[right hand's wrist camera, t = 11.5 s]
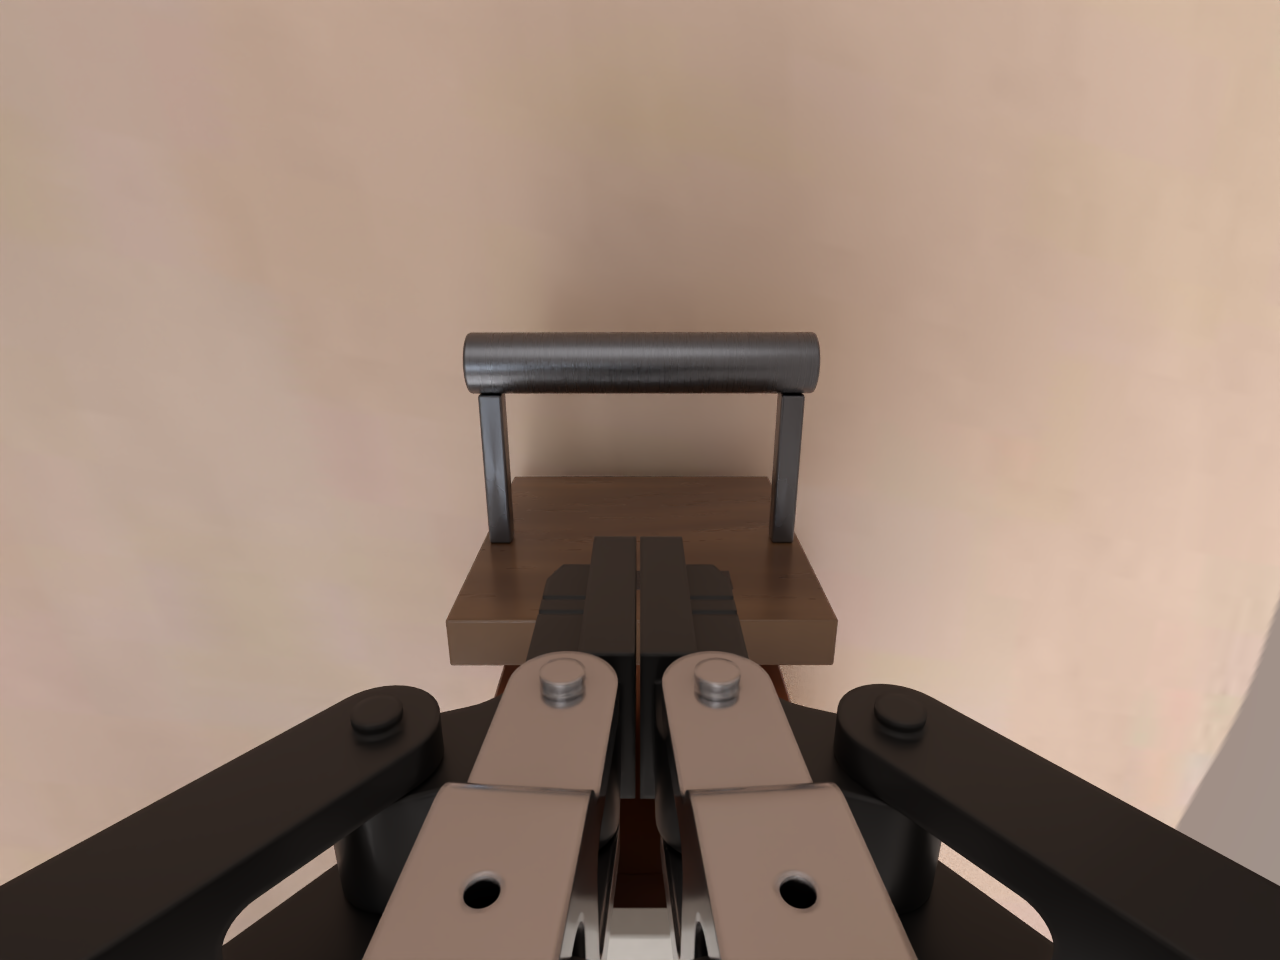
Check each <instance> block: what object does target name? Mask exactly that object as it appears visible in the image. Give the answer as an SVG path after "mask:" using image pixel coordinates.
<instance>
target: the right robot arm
mask: <svg viewBox="0 0 1280 960" xmlns="http://www.w3.org/2000/svg"><path fill="white" fill-rule="evenodd" d="M636 633H637V616H636V536H594V541H593V548H592V556H591V563H590V564H563V565H562V566H560V567H559V568H558V569H557V570H556V571H555V572H554V573H553V574H552V575H551V576H550V577H548V578H547V580H546V584H545V588H544V592H543V596H542V600H541V604H540V608H539V614H538V615H537V619H536V623H535V627H534V631H533V635H532V639H531V643H530V647H529V651H528V655H527V658H526V662H525V663H523V664H522V665H521V666H519V667H518V668H517V669H516V670H515V671H514V672H513V673H512V675H511V677H510V678H509V680H508V683H507V685H506V688H505V690H504V692H503V693H502V694H500V695H499V696H497V697H495V698H493V699H491V700H488V701H486V702H483V703H480V704H477V705H473V706H470V707H465V708H461V709H456V710H451V711H447V712H442V713H440V708H439V705H438V703H437V701H436V700H435V698H434V697H433V696H432V695H430V694H429V693H428V692H426V691H424V690H422V689H418V688H415V687H410V686H399V685H394V686H383V687H377V688H373V689H369V690H365V691H362V692H360V693H357V694H354V695H352V696H350V697H348V698H346V699H344V700H342V701H341V702H339V703H337V704H335V705H333V706H331V707H329V708H328V709H326V710H324V711H322V712H320V713H318V714H317V715H315V716H313V717H311V718H309V719H307V720H305V721H304V722H302V723H300V724H298V725H296V726H294V727H293V728H291V729H289V730H287V731H285V732H283V733H282V734H280V735H278V736H276V737H274V738H272V739H270V740H269V741H267V742H265V743H263V744H261V745H259V746H258V747H256V748H254V749H252V750H250V751H248V752H247V753H245V754H243V755H241V756H239V757H237V758H235V759H234V760H232V761H230V762H228V763H226V764H224V765H223V766H221V767H219V768H217V769H215V770H213V771H211V772H210V773H208V774H206V775H204V776H202V777H200V778H199V779H197V780H195V781H193V782H191V783H189V784H188V785H186V786H184V787H182V788H180V789H178V790H176V791H175V792H173V793H171V794H169V795H167V796H165V797H164V798H162V799H160V800H158V801H156V802H154V803H153V804H151V805H149V806H147V807H145V808H143V809H141V810H140V811H138V812H136V813H134V814H132V815H130V816H129V817H127V818H125V819H123V820H121V821H119V822H117V823H116V824H114V825H112V826H110V827H108V828H106V829H105V830H103V831H101V832H99V833H97V834H95V835H94V836H92V837H90V838H88V839H86V840H84V841H82V842H81V843H79V844H77V845H75V846H73V847H71V848H70V849H68V850H66V851H64V852H62V853H60V854H59V855H57V856H55V857H53V858H51V859H49V860H47V861H46V862H44V863H42V864H40V865H38V866H36V867H35V868H33V869H31V870H29V871H27V872H25V873H23V874H22V875H20V876H18V877H16V878H14V879H12V880H11V881H9V882H7V883H5V884H3V885H1V886H0V960H607V953H608V945H609V937H610V928H611V920H612V912H613V904H614V896H615V887H616V879H617V871H618V863H619V854H620V799H635V767H636ZM640 799H655V818H656V825H657V828H658V831H659V833H660V854H661V863H662V871H663V879H664V887H665V896H666V904H667V912H668V920H669V928H670V937H671V945H672V953H673V960H1280V886H1279V885H1277V884H1275V883H1273V882H1271V881H1269V880H1268V879H1266V878H1264V877H1262V876H1260V875H1258V874H1256V873H1255V872H1253V871H1251V870H1249V869H1247V868H1245V867H1244V866H1242V865H1240V864H1238V863H1236V862H1234V861H1233V860H1231V859H1229V858H1227V857H1225V856H1223V855H1221V854H1220V853H1218V852H1216V851H1214V850H1212V849H1210V848H1209V847H1207V846H1205V845H1203V844H1201V843H1199V842H1197V841H1196V840H1194V839H1192V838H1190V837H1188V836H1186V835H1185V834H1183V833H1181V832H1179V831H1177V830H1175V829H1174V828H1172V827H1170V826H1168V825H1166V824H1164V823H1162V822H1161V821H1159V820H1157V819H1155V818H1153V817H1151V816H1150V815H1148V814H1146V813H1144V812H1142V811H1140V810H1139V809H1137V808H1135V807H1133V806H1131V805H1129V804H1127V803H1126V802H1124V801H1122V800H1120V799H1118V798H1116V797H1115V796H1113V795H1111V794H1109V793H1107V792H1105V791H1103V790H1102V789H1100V788H1098V787H1096V786H1094V785H1092V784H1091V783H1089V782H1087V781H1085V780H1083V779H1081V778H1080V777H1078V776H1076V775H1074V774H1072V773H1070V772H1068V771H1067V770H1065V769H1063V768H1061V767H1059V766H1057V765H1056V764H1054V763H1052V762H1050V761H1048V760H1046V759H1045V758H1043V757H1041V756H1039V755H1037V754H1035V753H1033V752H1032V751H1030V750H1028V749H1026V748H1024V747H1022V746H1021V745H1019V744H1017V743H1015V742H1013V741H1011V740H1010V739H1008V738H1006V737H1004V736H1002V735H1000V734H998V733H997V732H995V731H993V730H991V729H989V728H987V727H986V726H984V725H982V724H980V723H978V722H976V721H974V720H973V719H971V718H969V717H967V716H965V715H963V714H962V713H960V712H958V711H956V710H954V709H952V708H951V707H949V706H947V705H945V704H943V703H941V702H939V701H938V700H936V699H934V698H932V697H930V696H928V695H926V694H924V693H922V692H919V691H916V690H913V689H910V688H906V687H903V686H897V685H890V684H871V685H864V686H861V687H857V688H855V689H853V690H851V691H849V692H848V693H846V694H845V695H844V696H843V697H842V699H841V700H840V702H839V705H838V710H837V714H836V713H831V712H827V711H822V710H818V709H813V708H808V707H804V706H801V705H797V704H794V703H791V702H788V701H786V700H784V699H782V698H780V697H778V695H777V693H776V690H775V688H774V685H773V683H772V680H771V678H770V677H769V675H768V673H767V672H766V671H765V670H764V669H763V668H762V667H761V666H759V665H758V664H757V663H755V662H753V661H752V660H750V659H749V657H748V653H747V649H746V645H745V641H744V637H743V633H742V629H741V625H740V621H739V617H738V614H737V608H736V604H735V600H734V596H733V592H732V588H731V584H730V580H729V578H728V577H727V576H725V575H724V574H723V573H722V572H721V571H720V570H719V569H718V568H717V567H716V566H715V565H714V564H686V562H685V555H684V547H683V540H682V536H640ZM941 841H942V842H943V843H945V844H946V845H947V846H949V847H950V848H952V849H953V850H955V851H956V852H957V853H959V854H960V855H962V856H963V857H965V858H966V859H967V860H969V861H970V862H972V863H973V864H975V865H976V866H978V867H979V868H980V869H982V870H983V871H985V872H986V873H988V874H989V875H990V876H992V877H993V878H995V879H996V880H998V881H999V882H1000V883H1002V884H1003V885H1005V886H1006V887H1008V888H1009V889H1011V890H1012V891H1013V892H1015V893H1016V894H1018V895H1019V896H1021V897H1022V898H1023V899H1024V900H1026V901H1027V902H1028V903H1029V904H1030V905H1031V906H1032V907H1033V908H1034V909H1035V910H1036V911H1037V912H1038V913H1039V914H1040V916H1041V917H1042V919H1043V920H1044V921H1045V923H1046V925H1047V927H1048V928H1049V931H1050V933H1051V935H1052V939H1053V942H1051V941H1050V940H1048V939H1047V938H1046V937H1044V936H1043V935H1041V934H1040V933H1039V932H1037V931H1036V930H1034V929H1033V928H1032V927H1030V926H1029V925H1028V924H1026V923H1025V922H1023V921H1022V920H1021V919H1019V918H1018V917H1016V916H1015V915H1014V914H1012V913H1011V912H1009V911H1008V910H1007V909H1005V908H1004V907H1003V906H1001V905H1000V904H998V903H997V902H996V901H994V900H993V899H991V898H990V897H989V896H987V895H986V894H984V893H983V892H982V891H980V890H979V889H978V888H976V887H975V886H973V885H972V884H971V883H969V882H968V881H966V880H965V879H964V878H962V877H961V876H960V875H958V874H957V873H955V872H954V871H953V870H951V869H950V868H948V867H947V866H946V865H944V864H943V863H941V862H940V861H939V860H938V857H939V851H940V846H941ZM333 845H334V849H335V854H336V859H337V864H336V865H334V866H333V867H332V868H330V869H329V870H327V871H326V872H325V873H323V874H322V875H320V876H319V877H318V878H316V879H315V880H314V881H312V882H311V883H309V884H308V885H307V886H305V887H304V888H302V889H301V890H300V891H298V892H297V893H295V894H294V895H293V896H291V897H290V898H289V899H287V900H286V901H284V902H283V903H282V904H280V905H279V906H277V907H276V908H275V909H273V910H272V911H271V912H269V913H268V914H266V915H265V916H264V917H262V918H261V919H259V920H258V921H257V922H255V923H254V924H252V925H251V926H250V927H248V928H247V929H246V930H244V931H243V932H241V933H240V934H239V935H237V936H236V937H234V938H233V939H232V940H230V941H229V942H227V943H226V944H225V945H223V941H224V938H225V935H226V933H227V931H228V929H229V927H230V926H231V924H232V923H233V921H234V920H235V918H236V917H237V916H238V915H239V914H240V913H241V911H242V910H243V909H244V908H245V907H247V906H248V905H249V904H250V903H251V902H253V901H254V900H255V899H257V898H258V897H259V896H261V895H262V894H264V893H265V892H267V891H268V890H269V889H271V888H272V887H274V886H275V885H277V884H278V883H279V882H281V881H282V880H284V879H285V878H287V877H288V876H290V875H291V874H292V873H294V872H295V871H297V870H298V869H300V868H301V867H302V866H304V865H305V864H307V863H308V862H310V861H311V860H312V859H314V858H315V857H317V856H318V855H320V854H321V853H323V852H324V851H325V850H327V849H328V848H330V847H331V846H333ZM222 945H223V946H222Z"/></svg>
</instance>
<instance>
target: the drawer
mask: <svg viewBox="0 0 1280 960" xmlns="http://www.w3.org/2000/svg"><path fill="white" fill-rule="evenodd" d="M463 370H464V378H465V382H466V385H467V388H468V390H469V392H471V393H473V394H474V393H481V394H480V395H479V397H478V402H479V414H480V426H481V439H482V451H483V463H484V476H485V488H486V500H487V513H488V525H489V532H488V534H487V536H486V538H485V540H484V542H483V545H482V547H481V549H480V551H479V553H478V555H477V557H476V559H475V561H474V563H473V565H472V567H471V570H470V572H469V574H468V576H467V578H466V580H465V582H464V584H463V586H462V588H461V590H460V592H459V595H458V597H457V599H456V601H455V603H454V605H453V607H452V609H451V611H450V613H449V615H448V617H447V620H446V627H447V637H448V646H449V655H450V663H451V665H504V667H503V671H502V674H501V677H500V680H499V684H498V687H497V690H496V694H495V697H497V696H499V695H500V694H502V693H503V692H504V690H505V688H506V685H507V683H508V680H509V678H510V677H511V675H512V673H513V672H514V671H515V670H516V669H517V668H518V667H519V666H521V665H522V664H523V663H525V662H526V658H527V655H528V651H529V647H530V643H531V639H532V635H533V631H534V627H535V623H536V619H537V615H538V614H539V608H540V604H541V600H542V596H543V592H544V588H545V584H546V580H547V578H548V577H550V576H551V575H552V574H553V573H554V572H555V571H556V570H557V569H558V568H559V567H560V566H562V565H563V564H590V563H591V556H592V548H593V541H594V536H636V616H637V633H636V767H635V799H620V854H619V863H618V871H617V879H616V887H615V896H614V904H613V908H667V904H666V896H665V887H664V879H663V871H662V863H661V854H660V833H659V831H658V828H657V825H656V818H655V799H640V536H682V540H683V547H684V555H685V562H686V564H714V565H715V566H716V567H717V568H718V569H719V570H720V571H721V572H722V573H723V574H724V575H725V576H727V577H728V578H729V580H730V584H731V588H732V592H733V596H734V600H735V604H736V608H737V614H738V617H739V621H740V625H741V629H742V633H743V637H744V641H745V645H746V649H747V653H748V657H749V659H750V660H752V661H753V662H755V663H757V664H758V665H759V666H761V667H762V668H763V669H764V670H765V671H766V672H767V673H768V675H769V677H770V678H771V680H772V683H773V685H774V688H775V690H776V693H777V695H778V697H780V698H782V699H784V700H786V701H788V702H791V701H790V698H789V695H788V692H787V689H786V685H785V682H784V679H783V676H782V672H781V669H780V666H779V665H832V664H833V661H834V652H835V643H836V634H837V625H838V620H837V618H836V616H835V614H834V612H833V610H832V608H831V605H830V603H829V601H828V599H827V597H826V595H825V593H824V591H823V589H822V587H821V585H820V583H819V581H818V579H817V577H816V575H815V573H814V571H813V569H812V567H811V565H810V563H809V561H808V559H807V556H806V554H805V552H804V550H803V548H802V546H801V544H800V542H799V540H798V538H797V536H796V534H795V532H794V525H795V512H796V500H797V487H798V475H799V463H800V450H801V438H802V425H803V413H804V401H805V397H804V395H803V394H802V393H812V392H813V391H814V390H815V388H816V385H817V382H818V377H819V371H820V347H819V342H818V338H817V336H816V334H815V333H812V332H606V333H469V334H467V336H466V338H465V342H464V348H463ZM505 393H778V400H777V415H776V430H775V445H774V459H773V474H772V485H771V483H770V481H769V479H768V477H515V478H514V480H513V482H512V484H511V475H510V460H509V445H508V431H507V416H506V401H505ZM495 697H494V698H495Z"/></svg>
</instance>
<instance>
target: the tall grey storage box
mask: <svg viewBox="0 0 1280 960" xmlns="http://www.w3.org/2000/svg"><path fill="white" fill-rule="evenodd" d="M607 960H673V953H672V945H671V937H670V928H669V920H668V912H667V908H613V912H612V920H611V928H610V937H609V945H608V953H607Z"/></svg>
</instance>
